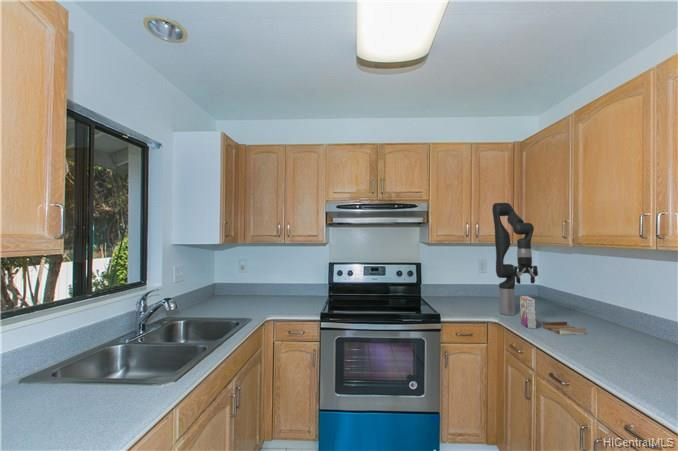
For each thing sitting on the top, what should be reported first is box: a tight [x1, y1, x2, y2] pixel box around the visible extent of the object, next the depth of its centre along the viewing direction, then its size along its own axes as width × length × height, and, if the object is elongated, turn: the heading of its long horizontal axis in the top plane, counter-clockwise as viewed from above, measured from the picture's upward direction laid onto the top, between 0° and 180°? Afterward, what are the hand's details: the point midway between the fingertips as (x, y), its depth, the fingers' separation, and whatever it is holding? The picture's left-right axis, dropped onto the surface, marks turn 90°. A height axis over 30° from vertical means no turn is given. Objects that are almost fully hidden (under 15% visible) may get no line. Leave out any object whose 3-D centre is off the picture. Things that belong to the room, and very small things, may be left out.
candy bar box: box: [519, 295, 537, 330], centre depth 189 cm, size 11×5×16 cm, turn 168°
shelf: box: [542, 321, 587, 336], centre depth 178 cm, size 14×14×3 cm
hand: (525, 283), depth 192 cm, fingers open, 8 cm apart
